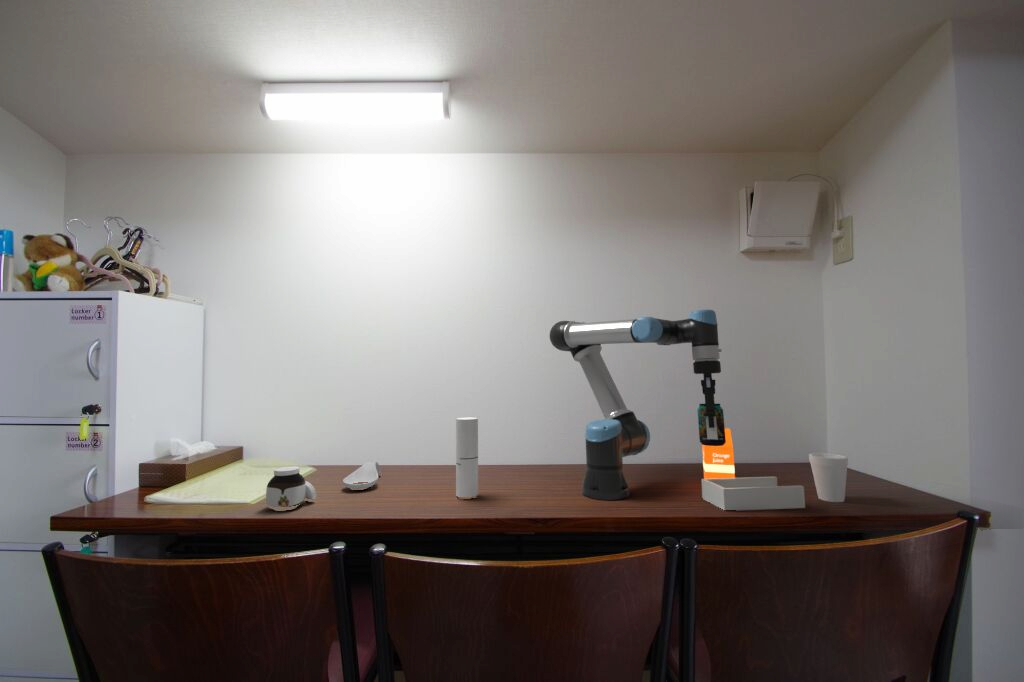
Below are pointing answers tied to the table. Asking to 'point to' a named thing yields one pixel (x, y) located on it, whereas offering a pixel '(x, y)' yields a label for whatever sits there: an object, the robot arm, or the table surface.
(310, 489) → the spread jar
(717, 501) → the grey shallow open box
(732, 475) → the orange juice
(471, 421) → the cylindrical container
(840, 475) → the foam cup
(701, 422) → the beverage can
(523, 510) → the table surface
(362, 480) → the spoon rest
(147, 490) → the table surface
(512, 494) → the table surface
